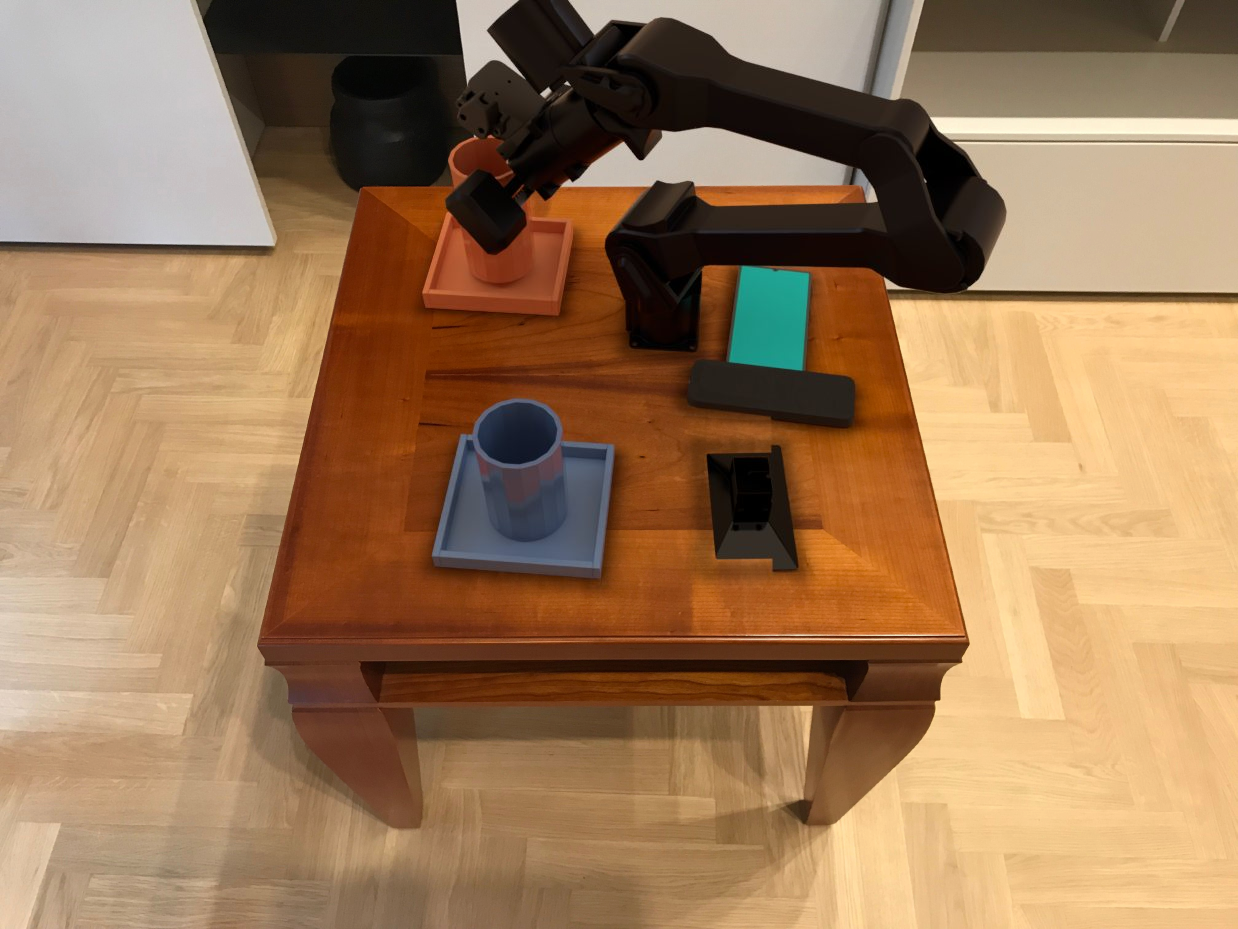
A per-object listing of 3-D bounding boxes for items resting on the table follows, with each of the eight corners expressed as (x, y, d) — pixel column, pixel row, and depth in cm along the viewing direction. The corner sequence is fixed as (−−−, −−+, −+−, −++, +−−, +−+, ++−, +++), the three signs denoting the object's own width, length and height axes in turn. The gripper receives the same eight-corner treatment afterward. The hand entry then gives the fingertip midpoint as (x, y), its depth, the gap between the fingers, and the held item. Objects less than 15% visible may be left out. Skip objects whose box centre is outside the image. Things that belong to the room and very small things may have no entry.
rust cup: (548, 263, 94) (539, 160, 85) (492, 293, 92) (476, 190, 82) (509, 229, 98) (496, 126, 88) (454, 257, 95) (434, 154, 86)
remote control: (853, 388, 86) (690, 365, 87) (858, 376, 85) (692, 353, 86) (852, 432, 84) (684, 408, 85) (856, 421, 82) (686, 396, 83)
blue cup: (572, 478, 80) (567, 401, 72) (563, 544, 76) (555, 471, 68) (495, 472, 80) (481, 395, 72) (481, 538, 76) (465, 464, 68)
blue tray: (614, 458, 82) (614, 444, 80) (600, 581, 74) (600, 568, 73) (463, 447, 82) (460, 433, 81) (435, 569, 75) (431, 555, 73)
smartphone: (724, 373, 86) (739, 263, 95) (723, 379, 87) (738, 270, 96) (805, 383, 85) (813, 271, 94) (804, 389, 86) (811, 278, 95)
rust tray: (573, 234, 99) (572, 218, 98) (558, 316, 92) (557, 300, 90) (449, 227, 100) (446, 211, 98) (425, 307, 93) (421, 292, 91)
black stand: (798, 572, 75) (807, 541, 71) (706, 573, 75) (710, 543, 71) (780, 447, 82) (787, 413, 78) (696, 448, 82) (699, 414, 78)
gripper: (568, -6, 80) (475, 83, 92) (446, 108, 70) (360, 190, 82) (650, 102, 84) (551, 173, 96) (546, 223, 74) (450, 286, 86)
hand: (481, 201), depth 90 cm, fingers closed on rust cup, 7 cm apart
